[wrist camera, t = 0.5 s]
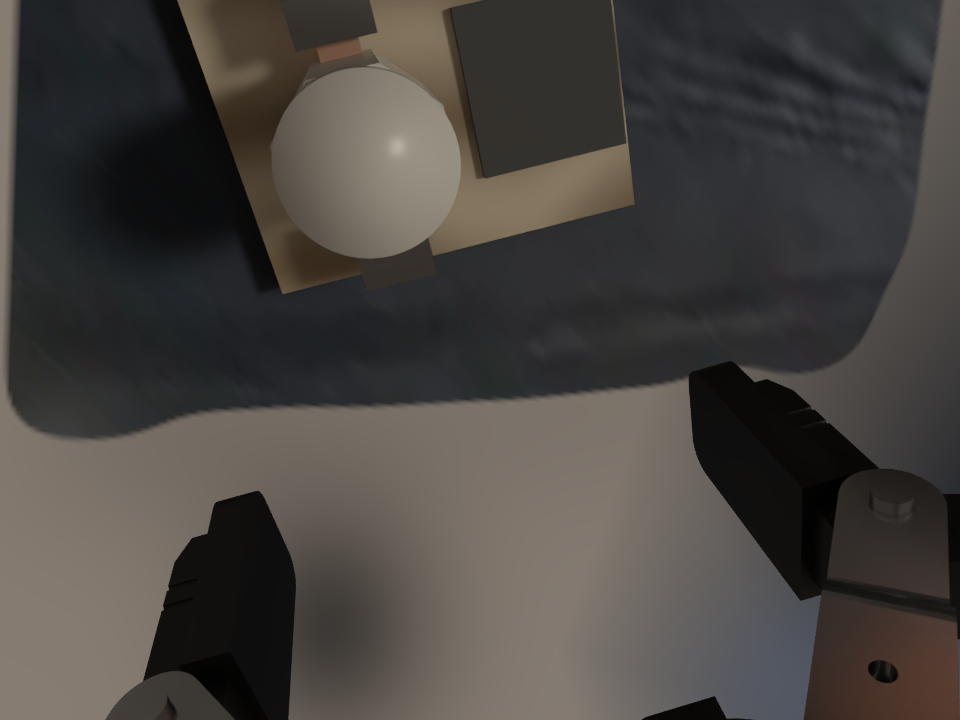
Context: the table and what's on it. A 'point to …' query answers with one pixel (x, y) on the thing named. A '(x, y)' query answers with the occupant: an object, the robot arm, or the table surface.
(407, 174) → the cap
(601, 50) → the mat
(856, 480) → the robot arm
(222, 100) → the bulb mounting plate
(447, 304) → the table surface
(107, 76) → the table surface
